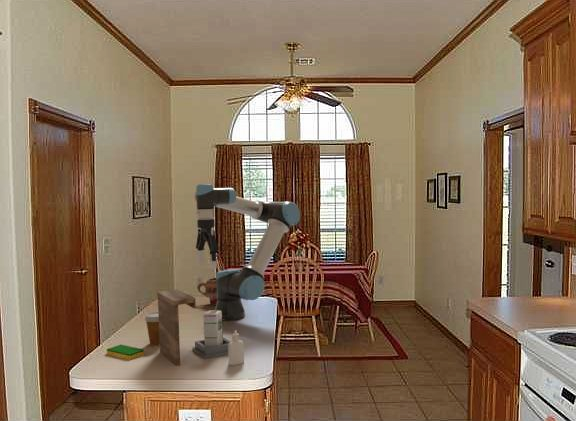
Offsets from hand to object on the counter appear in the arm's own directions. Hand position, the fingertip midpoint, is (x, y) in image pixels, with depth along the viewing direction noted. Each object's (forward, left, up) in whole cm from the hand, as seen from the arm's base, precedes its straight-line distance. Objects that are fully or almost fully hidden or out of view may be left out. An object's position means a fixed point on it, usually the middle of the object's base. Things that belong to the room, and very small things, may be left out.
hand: (207, 266), depth 235 cm
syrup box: (+10, +29, -28) cm, 41 cm away
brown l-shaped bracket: (+24, +27, -29) cm, 46 cm away
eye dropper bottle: (+9, +47, -29) cm, 56 cm away
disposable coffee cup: (+25, +5, -29) cm, 39 cm away
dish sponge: (+40, +12, -29) cm, 51 cm away
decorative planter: (-24, -49, -29) cm, 62 cm away
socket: (+10, +29, -29) cm, 42 cm away
